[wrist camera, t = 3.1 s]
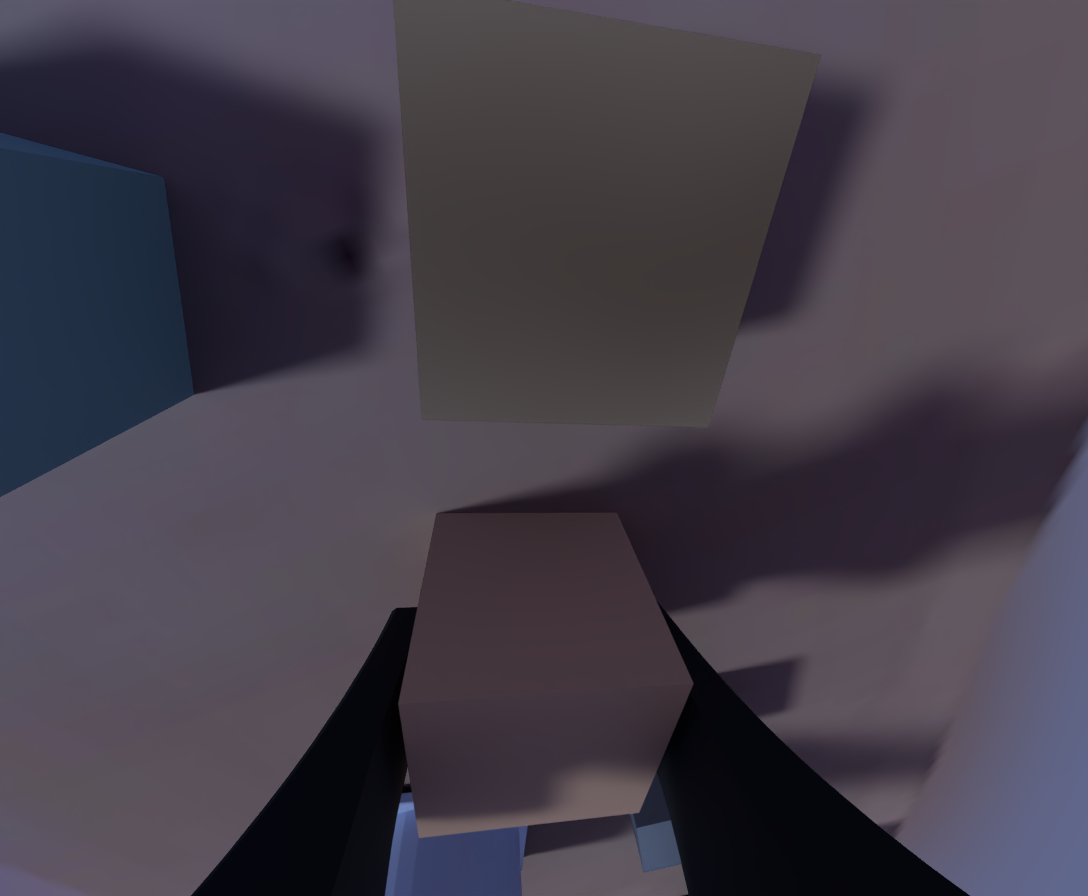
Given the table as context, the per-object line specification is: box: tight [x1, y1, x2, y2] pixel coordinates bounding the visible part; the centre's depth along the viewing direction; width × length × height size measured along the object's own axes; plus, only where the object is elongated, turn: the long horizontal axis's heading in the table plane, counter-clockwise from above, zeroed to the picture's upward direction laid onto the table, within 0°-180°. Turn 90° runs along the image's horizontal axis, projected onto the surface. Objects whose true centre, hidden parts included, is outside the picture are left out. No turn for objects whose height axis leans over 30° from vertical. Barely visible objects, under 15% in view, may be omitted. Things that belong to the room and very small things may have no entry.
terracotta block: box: [398, 513, 694, 838], centre depth 10 cm, size 5×5×5 cm
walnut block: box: [393, 0, 821, 428], centre depth 6 cm, size 4×4×4 cm
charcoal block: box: [630, 772, 682, 872], centre depth 15 cm, size 4×4×4 cm
